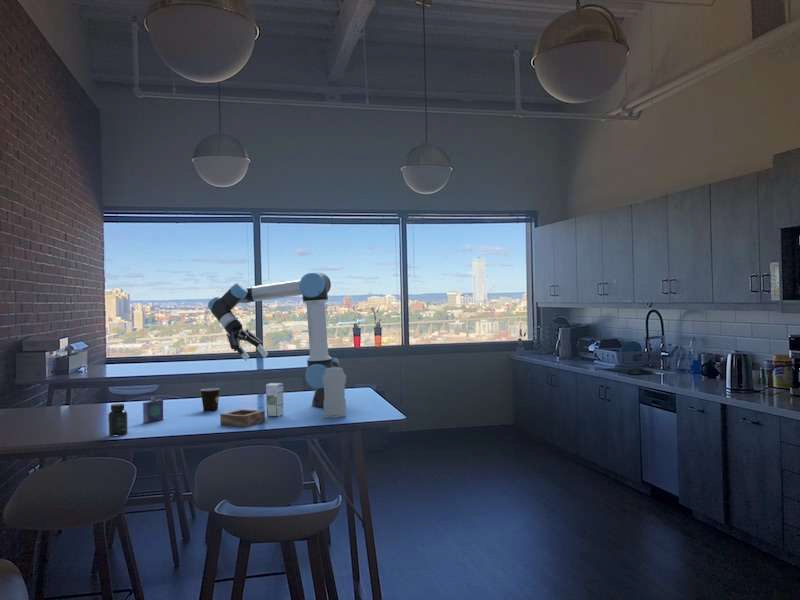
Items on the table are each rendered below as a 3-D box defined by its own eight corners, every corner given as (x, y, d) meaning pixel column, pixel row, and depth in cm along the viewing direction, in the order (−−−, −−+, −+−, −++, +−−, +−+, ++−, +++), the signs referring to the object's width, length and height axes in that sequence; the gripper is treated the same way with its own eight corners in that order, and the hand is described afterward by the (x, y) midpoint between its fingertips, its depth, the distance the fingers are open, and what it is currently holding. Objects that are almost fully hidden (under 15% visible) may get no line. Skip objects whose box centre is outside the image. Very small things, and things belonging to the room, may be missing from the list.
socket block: (241, 419, 276) (240, 408, 276) (264, 421, 270) (264, 410, 270) (220, 424, 264) (220, 414, 264) (244, 427, 259) (244, 416, 259)
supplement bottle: (129, 432, 254) (128, 402, 253) (124, 436, 247) (124, 405, 247) (111, 433, 253) (111, 403, 252) (106, 437, 246) (105, 406, 246)
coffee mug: (208, 412, 293) (208, 391, 293) (197, 411, 298) (196, 390, 298) (228, 408, 303) (228, 388, 302) (217, 407, 308) (217, 386, 308)
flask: (145, 423, 271) (144, 398, 271) (141, 422, 273) (141, 398, 273) (164, 419, 278) (164, 395, 278) (161, 419, 280) (160, 395, 280)
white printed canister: (284, 414, 285) (283, 382, 284) (277, 417, 279) (276, 384, 279) (273, 414, 286) (272, 382, 286) (266, 416, 281) (265, 384, 281)
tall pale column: (346, 415, 280) (345, 366, 280) (347, 417, 276) (346, 367, 276) (322, 416, 278) (321, 367, 277) (323, 418, 274) (322, 368, 273)
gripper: (244, 328, 309) (269, 360, 302) (208, 331, 286) (234, 365, 280) (252, 317, 306) (278, 349, 300) (217, 320, 284) (243, 354, 277)
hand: (257, 357), depth 290 cm, fingers open, 13 cm apart
